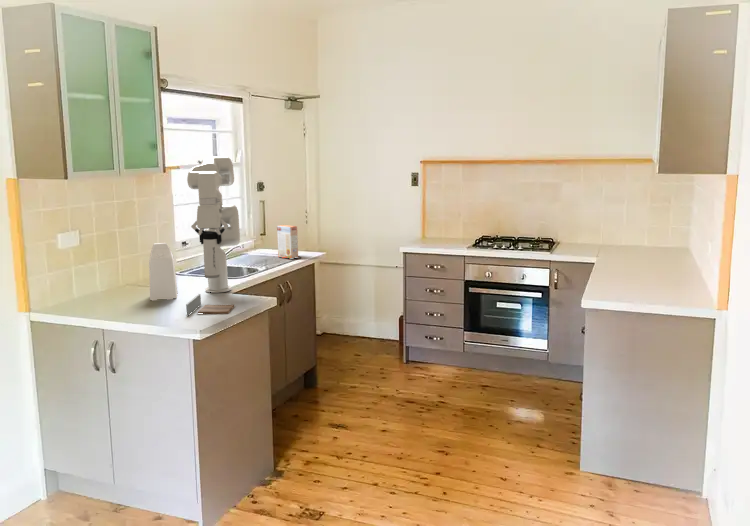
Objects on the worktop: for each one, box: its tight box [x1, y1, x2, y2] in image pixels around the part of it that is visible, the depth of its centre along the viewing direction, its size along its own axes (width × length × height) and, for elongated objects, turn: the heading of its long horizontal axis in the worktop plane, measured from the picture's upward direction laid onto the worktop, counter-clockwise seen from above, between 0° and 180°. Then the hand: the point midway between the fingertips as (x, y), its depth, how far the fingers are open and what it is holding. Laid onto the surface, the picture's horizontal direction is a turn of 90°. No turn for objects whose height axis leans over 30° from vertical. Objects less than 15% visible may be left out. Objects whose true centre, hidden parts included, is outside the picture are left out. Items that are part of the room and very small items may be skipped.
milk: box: [148, 242, 179, 301], centre depth 319 cm, size 12×12×26 cm
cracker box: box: [276, 224, 299, 259], centre depth 427 cm, size 14×6×21 cm, turn 44°
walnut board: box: [197, 303, 235, 315], centre depth 293 cm, size 13×13×1 cm
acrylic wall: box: [185, 293, 202, 316], centre depth 293 cm, size 20×1×5 cm, turn 0°
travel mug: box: [202, 230, 220, 279], centre depth 289 cm, size 6×7×20 cm
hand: (210, 243), depth 288 cm, fingers closed on travel mug, 6 cm apart
